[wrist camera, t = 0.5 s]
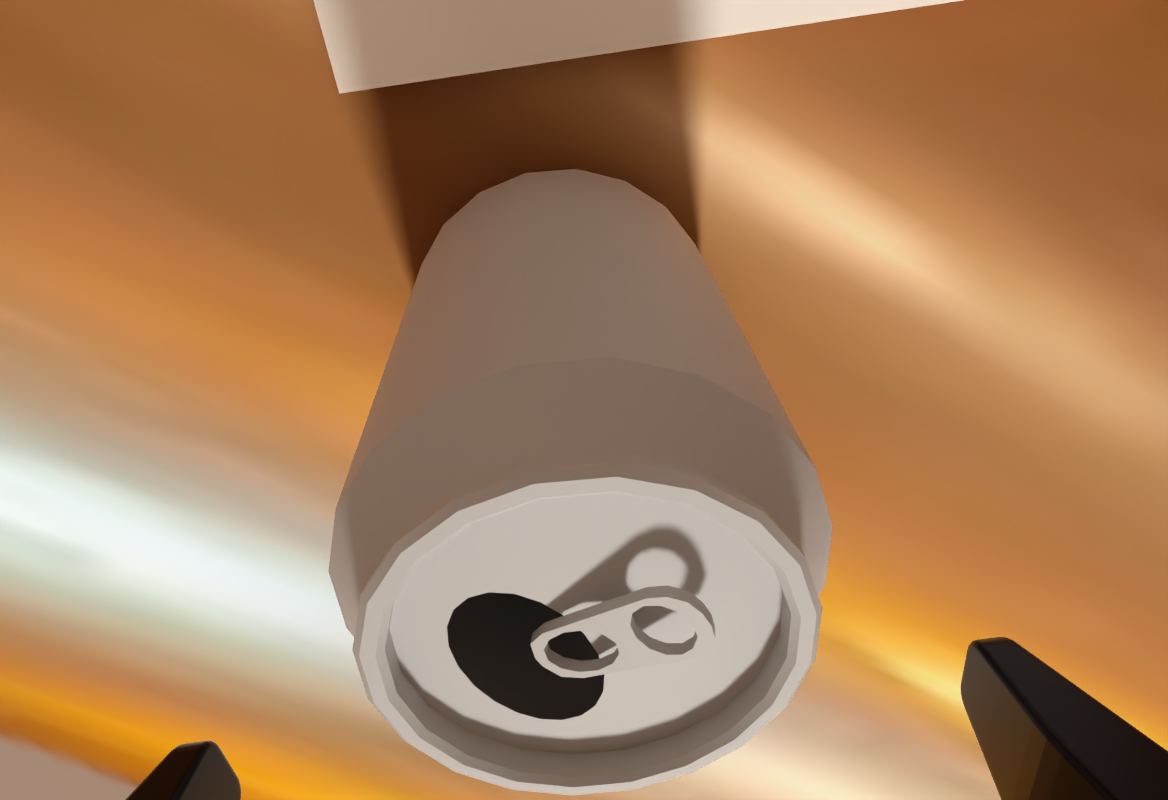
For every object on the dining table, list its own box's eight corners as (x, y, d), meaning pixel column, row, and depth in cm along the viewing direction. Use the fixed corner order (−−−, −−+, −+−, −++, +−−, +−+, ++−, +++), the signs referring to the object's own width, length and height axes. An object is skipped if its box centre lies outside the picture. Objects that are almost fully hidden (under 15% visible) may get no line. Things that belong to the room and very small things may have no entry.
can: (359, 260, 19) (161, 616, 9) (615, 97, 18) (728, 307, 7) (521, 462, 23) (511, 885, 13) (747, 342, 21) (950, 715, 11)
